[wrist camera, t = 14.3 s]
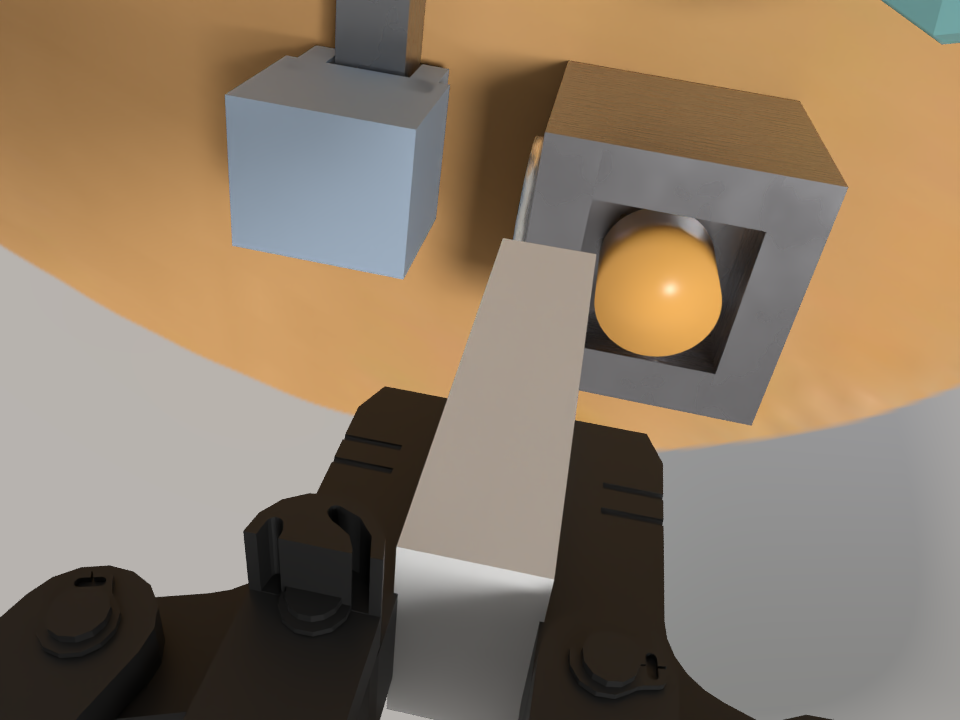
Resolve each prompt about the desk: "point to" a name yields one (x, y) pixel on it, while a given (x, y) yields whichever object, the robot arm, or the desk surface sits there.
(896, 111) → the desk surface
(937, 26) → the alarm clock
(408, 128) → the block
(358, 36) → the rail
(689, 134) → the cabinet
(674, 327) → the button
